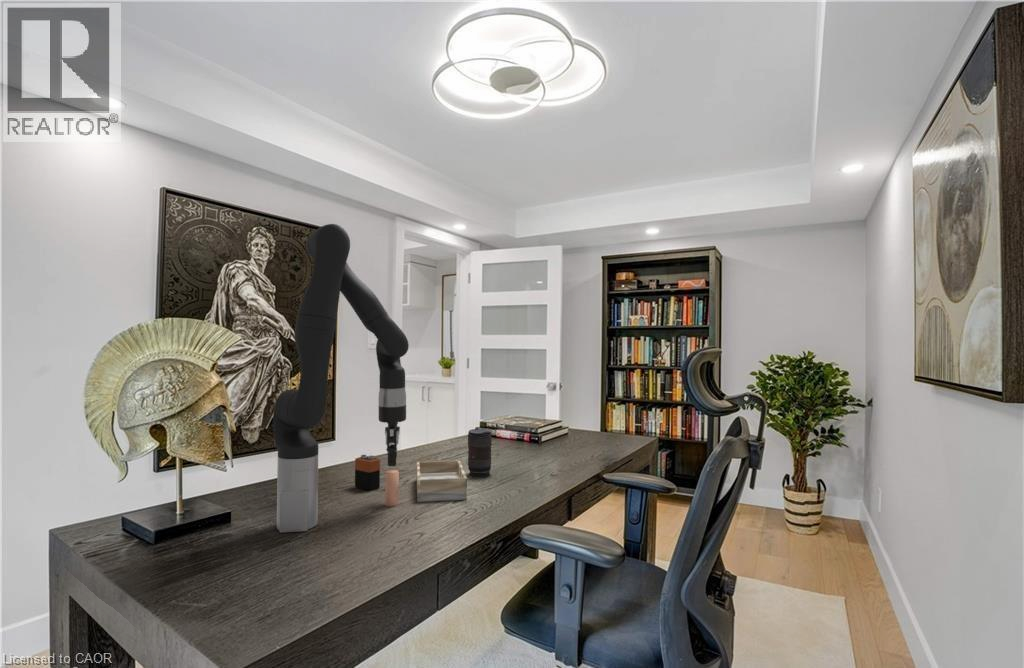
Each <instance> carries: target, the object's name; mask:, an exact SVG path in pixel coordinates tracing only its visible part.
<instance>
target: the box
mask: <svg viewBox="0 0 1024 668" xmlns="http://www.w3.org/2000/svg"><path fill="white" fill-rule="evenodd" d="M467 492H468V477H467V476H466V472H465V470H464V466H463V464H462V461H461V460H441V461H440V460H436V461H435V460H434V461H433V460H432V461H416V497H417V498H416V500H417V501H416V502H417V503H420V502H423V503H424V502H440V501H457V500H459V501H460V500H467V499H468V495H467V494H468V493H467Z"/></svg>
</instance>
